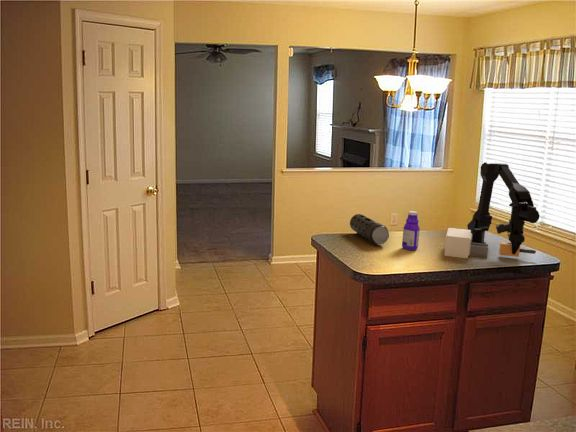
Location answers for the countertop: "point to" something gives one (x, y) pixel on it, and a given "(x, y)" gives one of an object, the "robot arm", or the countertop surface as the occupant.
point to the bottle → (411, 232)
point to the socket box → (463, 244)
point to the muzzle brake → (369, 229)
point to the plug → (507, 250)
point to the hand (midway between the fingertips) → (513, 253)
